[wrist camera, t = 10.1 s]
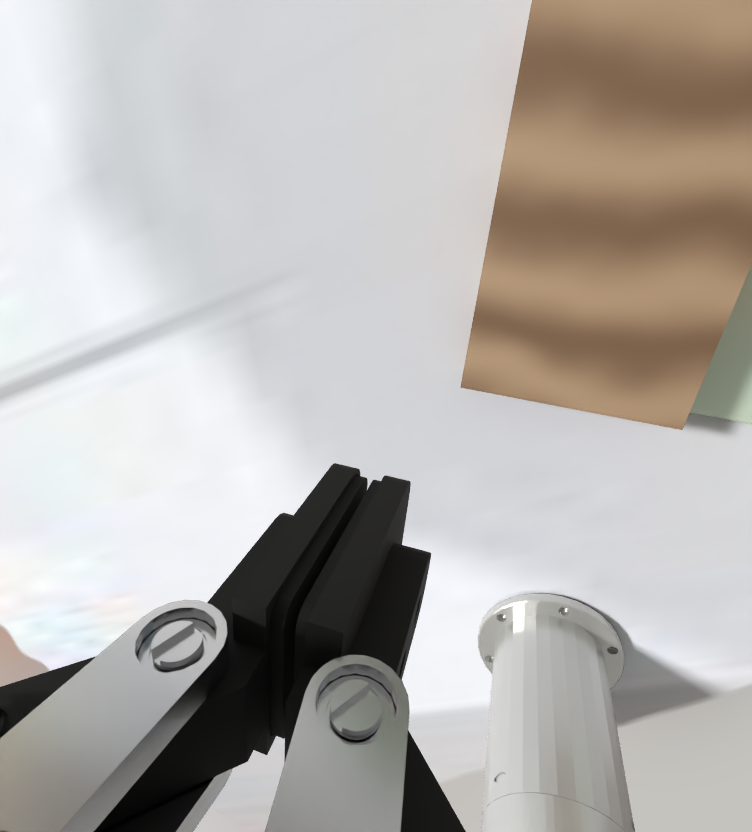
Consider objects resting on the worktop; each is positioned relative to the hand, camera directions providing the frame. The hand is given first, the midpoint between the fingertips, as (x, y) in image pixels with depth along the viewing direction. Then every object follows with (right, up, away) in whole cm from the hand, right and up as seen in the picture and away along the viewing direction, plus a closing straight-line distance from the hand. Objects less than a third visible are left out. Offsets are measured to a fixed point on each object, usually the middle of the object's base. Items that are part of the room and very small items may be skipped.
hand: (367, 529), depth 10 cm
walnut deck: (+15, +14, +20) cm, 29 cm away
